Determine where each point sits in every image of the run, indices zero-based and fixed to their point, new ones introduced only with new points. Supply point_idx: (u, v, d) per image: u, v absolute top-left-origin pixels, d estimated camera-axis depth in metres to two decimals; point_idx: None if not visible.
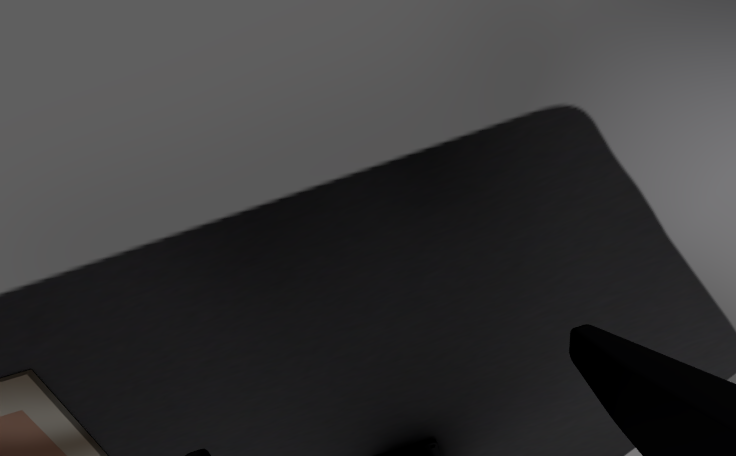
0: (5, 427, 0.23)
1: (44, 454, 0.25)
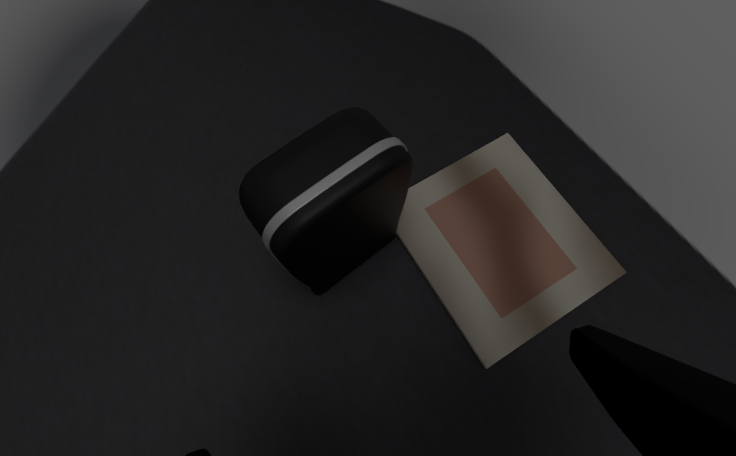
0: (548, 254, 0.23)
1: (513, 288, 0.22)
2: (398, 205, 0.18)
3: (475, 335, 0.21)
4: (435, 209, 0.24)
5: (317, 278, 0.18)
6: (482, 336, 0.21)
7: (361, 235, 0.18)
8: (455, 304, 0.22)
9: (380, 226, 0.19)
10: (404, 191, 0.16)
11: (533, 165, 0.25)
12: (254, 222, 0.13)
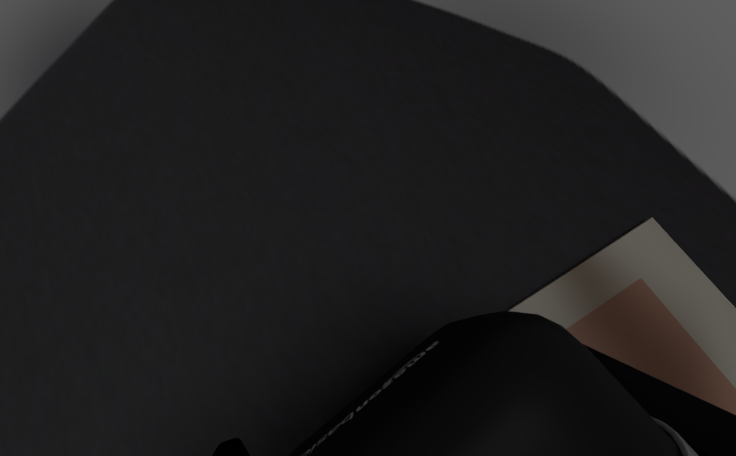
0: None
1: None
2: None
3: None
4: None
5: None
6: None
7: None
8: None
9: None
10: None
11: (701, 274, 0.16)
12: None
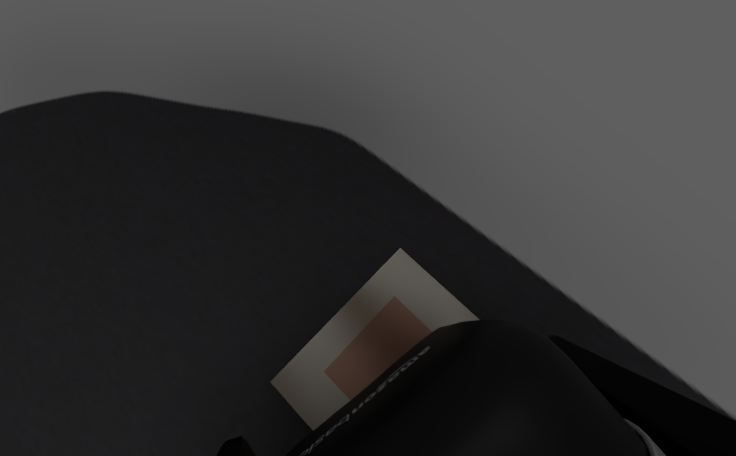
0: None
1: None
2: None
3: None
4: (336, 369, 0.21)
5: None
6: None
7: None
8: None
9: None
10: None
11: (434, 282, 0.22)
12: None
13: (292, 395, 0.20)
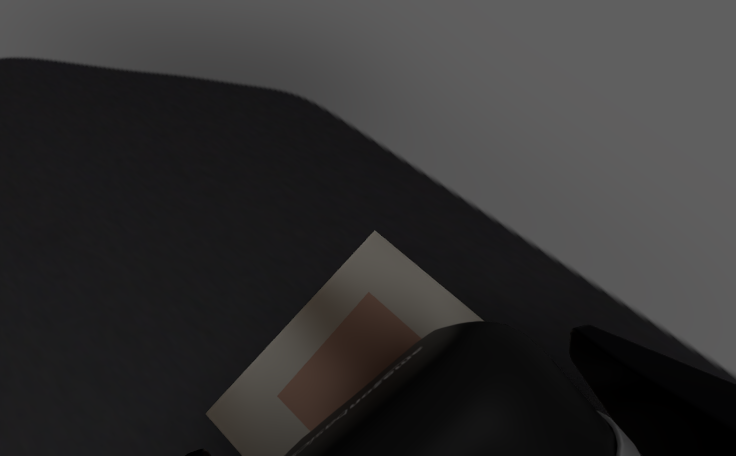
0: None
1: None
2: None
3: None
4: (293, 391, 0.15)
5: None
6: None
7: None
8: None
9: None
10: None
11: (420, 271, 0.17)
12: None
13: (235, 430, 0.15)
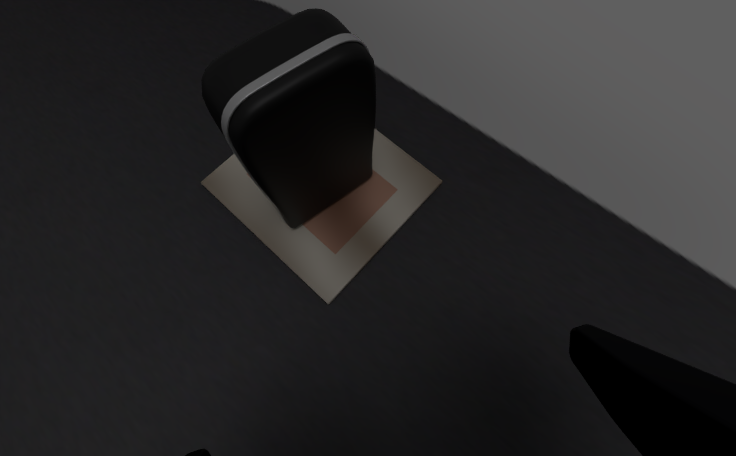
0: (370, 184, 0.24)
1: (342, 223, 0.23)
2: (367, 124, 0.18)
3: (312, 277, 0.22)
4: None
5: (287, 199, 0.19)
6: (319, 276, 0.22)
7: (329, 153, 0.18)
8: (289, 254, 0.22)
9: (350, 149, 0.19)
10: (370, 104, 0.17)
11: None
12: (214, 112, 0.14)
13: (219, 191, 0.24)
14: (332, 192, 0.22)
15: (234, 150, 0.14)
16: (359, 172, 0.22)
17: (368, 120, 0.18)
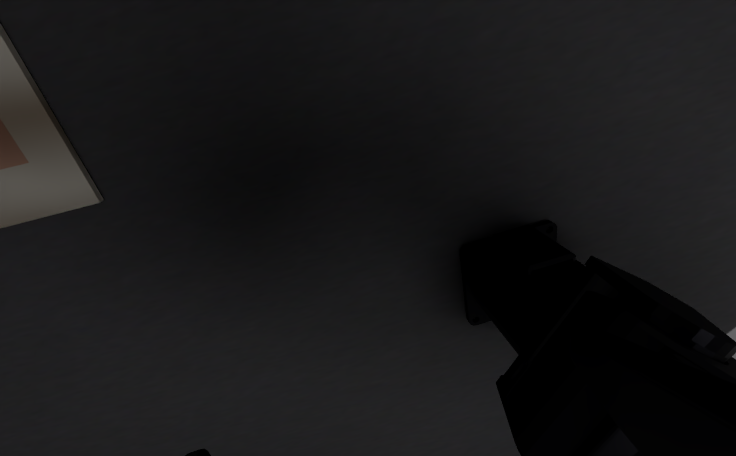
0: None
1: None
2: None
3: (54, 202, 0.17)
4: None
5: None
6: (56, 194, 0.17)
7: None
8: (6, 213, 0.17)
9: None
10: None
11: None
12: None
13: None
14: None
15: None
16: None
17: None
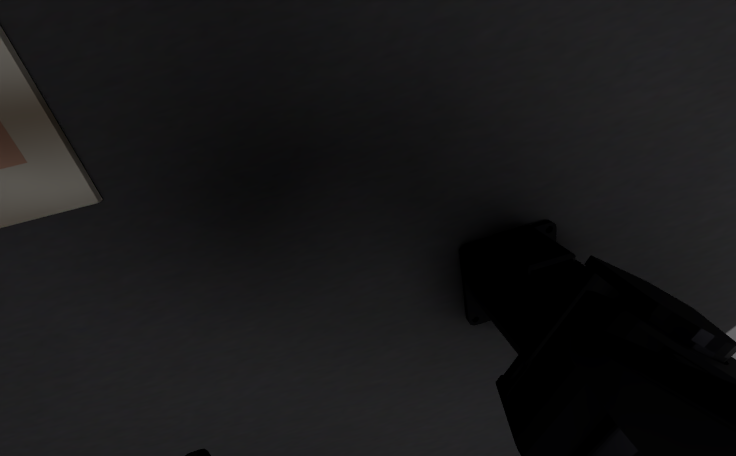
0: None
1: None
2: None
3: (52, 202, 0.17)
4: None
5: None
6: (54, 195, 0.17)
7: None
8: (5, 213, 0.17)
9: None
10: None
11: None
12: None
13: None
14: None
15: None
16: None
17: None
